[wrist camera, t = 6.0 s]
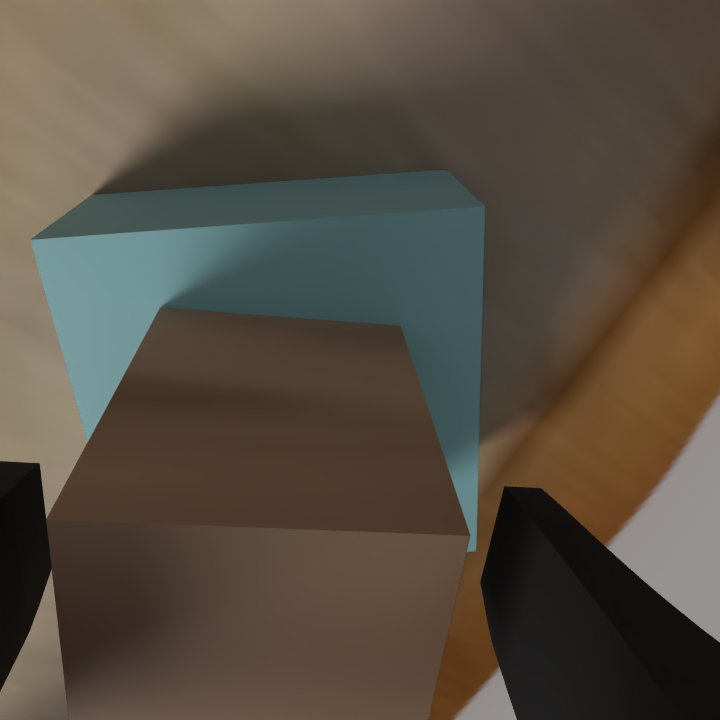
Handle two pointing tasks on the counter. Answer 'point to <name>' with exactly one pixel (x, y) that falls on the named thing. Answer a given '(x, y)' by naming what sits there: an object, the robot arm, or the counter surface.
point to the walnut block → (258, 529)
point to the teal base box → (282, 279)
